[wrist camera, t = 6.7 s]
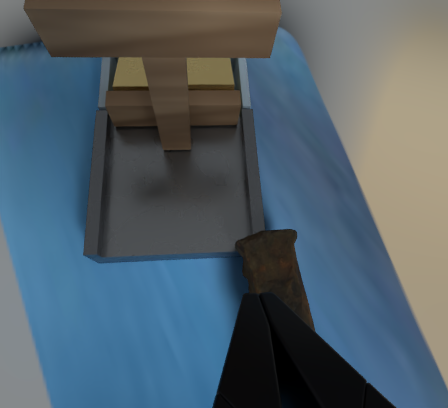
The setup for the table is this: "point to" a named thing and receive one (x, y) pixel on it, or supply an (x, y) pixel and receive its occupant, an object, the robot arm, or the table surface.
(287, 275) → the hand tool
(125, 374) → the table surface
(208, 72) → the chip
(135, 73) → the chip
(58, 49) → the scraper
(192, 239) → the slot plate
